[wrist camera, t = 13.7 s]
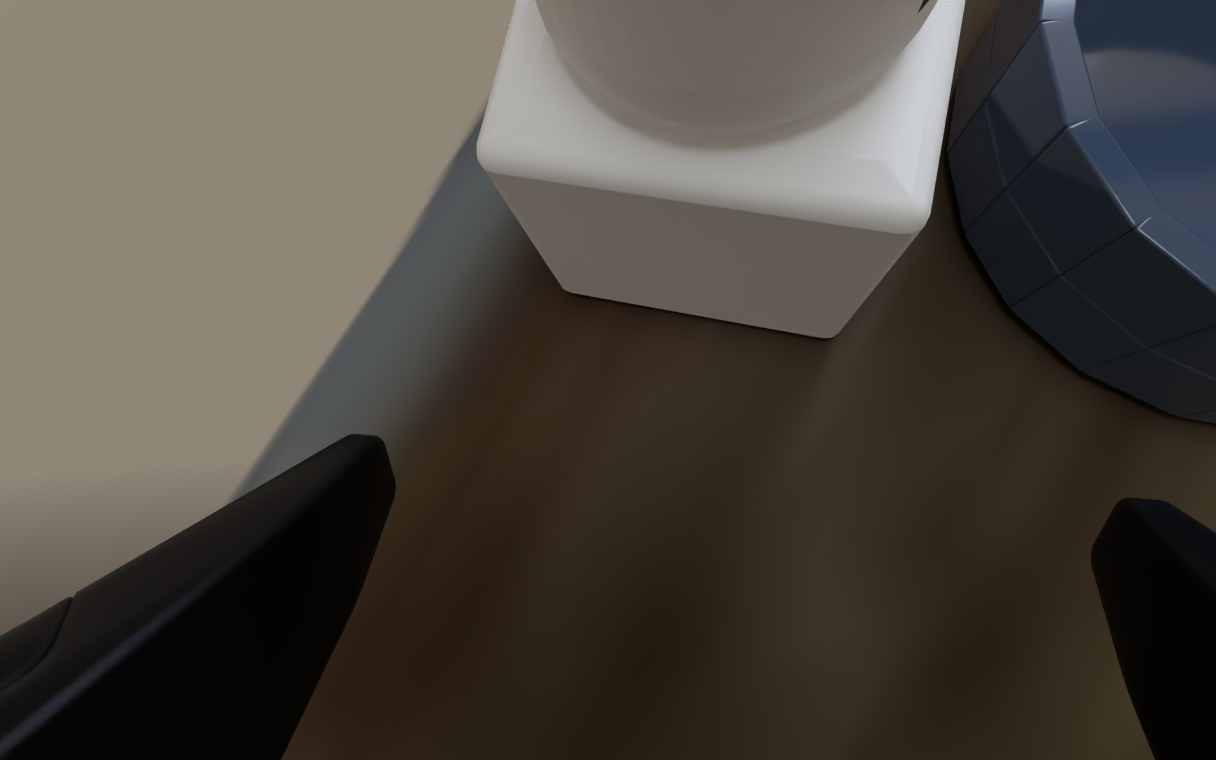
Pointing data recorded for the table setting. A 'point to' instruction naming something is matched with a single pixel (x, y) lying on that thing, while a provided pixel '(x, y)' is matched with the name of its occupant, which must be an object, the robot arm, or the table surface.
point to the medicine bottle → (723, 148)
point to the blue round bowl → (1099, 185)
